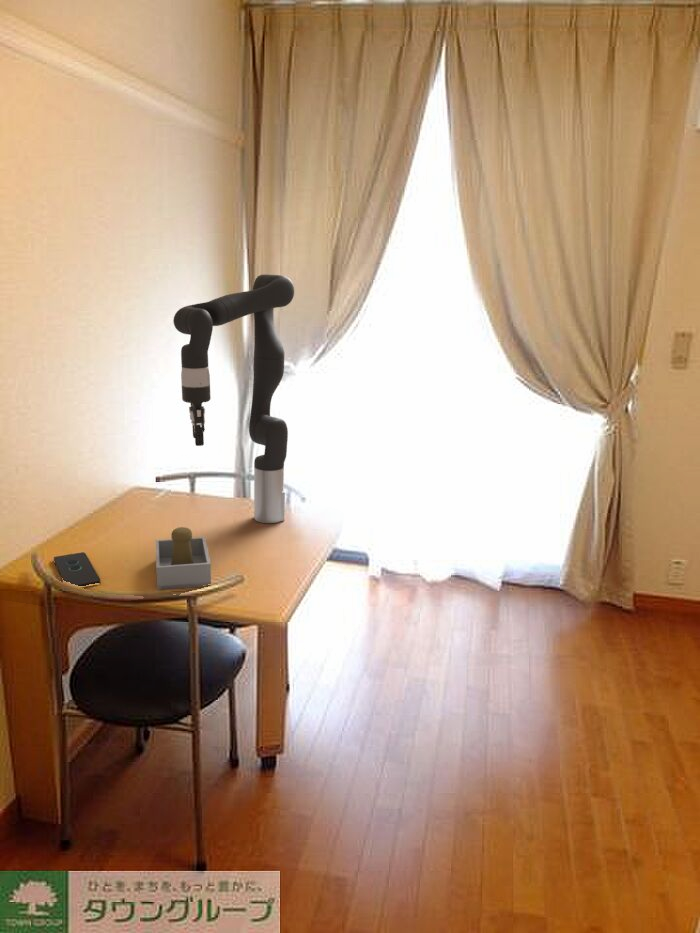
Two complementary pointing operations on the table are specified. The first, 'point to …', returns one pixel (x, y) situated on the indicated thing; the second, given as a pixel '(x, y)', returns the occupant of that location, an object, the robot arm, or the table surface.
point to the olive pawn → (182, 546)
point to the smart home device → (76, 569)
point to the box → (182, 566)
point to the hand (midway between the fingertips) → (198, 441)
